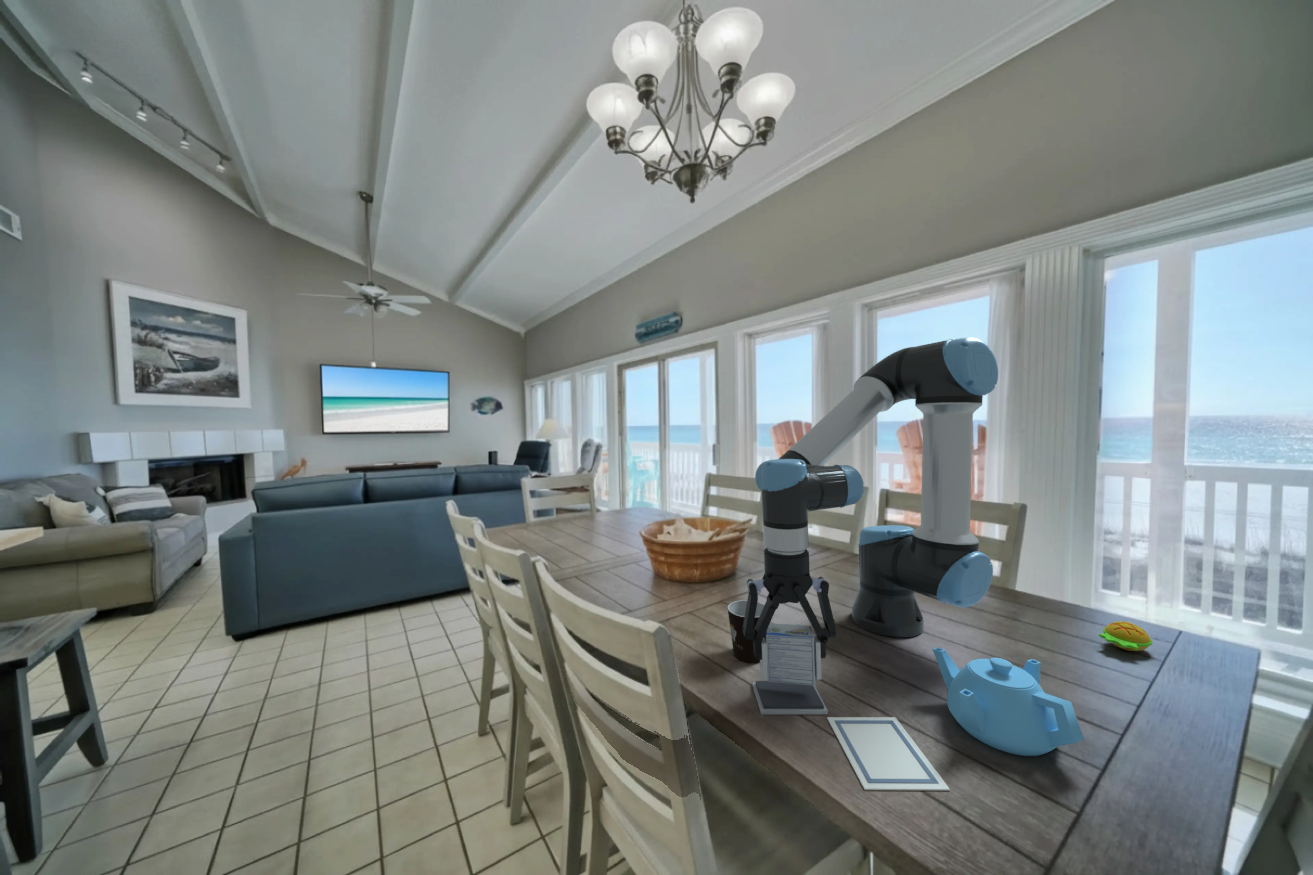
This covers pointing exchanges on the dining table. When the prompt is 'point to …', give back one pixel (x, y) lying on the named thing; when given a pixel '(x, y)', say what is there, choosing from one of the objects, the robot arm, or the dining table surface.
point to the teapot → (1007, 705)
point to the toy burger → (1126, 636)
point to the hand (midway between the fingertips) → (790, 675)
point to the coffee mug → (736, 619)
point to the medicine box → (790, 654)
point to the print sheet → (885, 754)
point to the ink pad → (788, 698)
